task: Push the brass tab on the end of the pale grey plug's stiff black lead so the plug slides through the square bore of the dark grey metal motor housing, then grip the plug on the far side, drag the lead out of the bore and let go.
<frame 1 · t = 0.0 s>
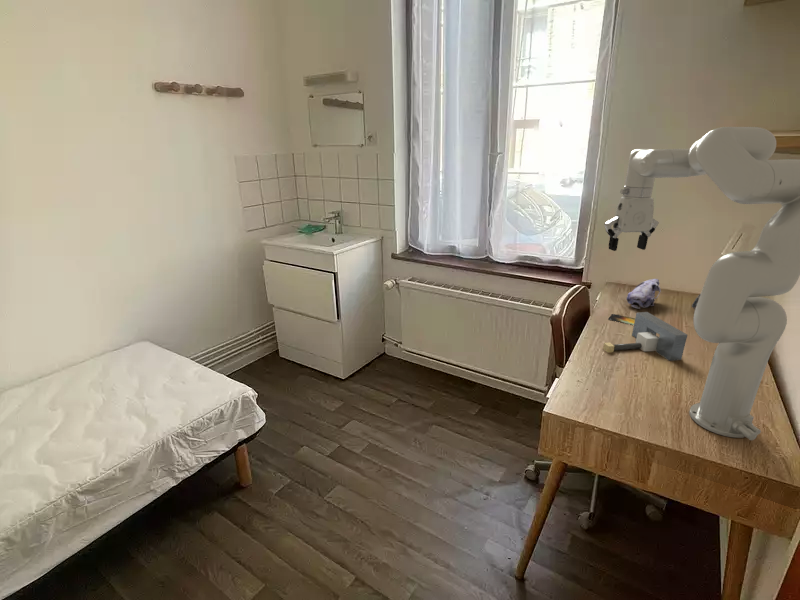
hand: (626, 249, 136), 31 cm above the table, tool pointing down, fingers open, 9 cm apart
stone: (707, 312, 170), on the table
smartphone: (631, 323, 161), on the table
housing: (655, 347, 142), on the table
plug: (645, 347, 141), on the table
lavender lump: (643, 306, 176), on the table
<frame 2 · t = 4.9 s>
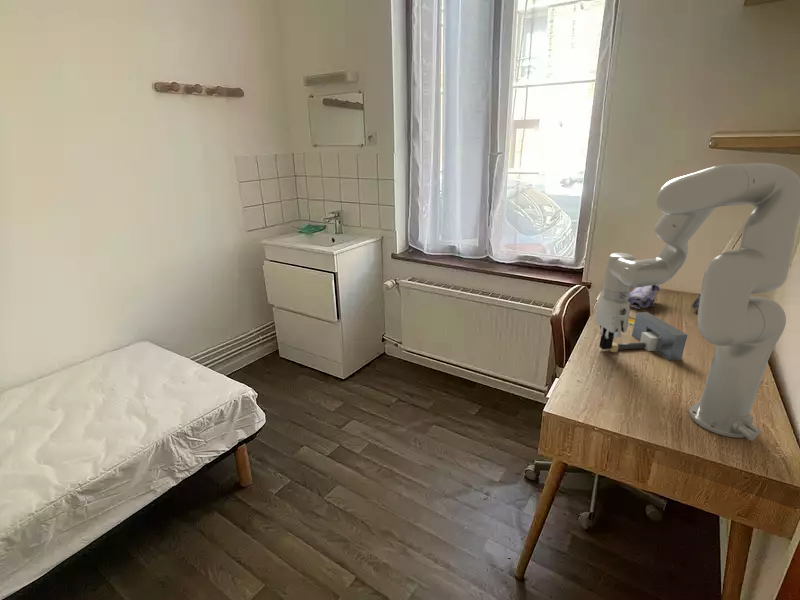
hand: (605, 347, 139), 1 cm above the table, tool pointing down, fingers closed
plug: (650, 347, 142), on the table, touching gripper
everything else where it was.
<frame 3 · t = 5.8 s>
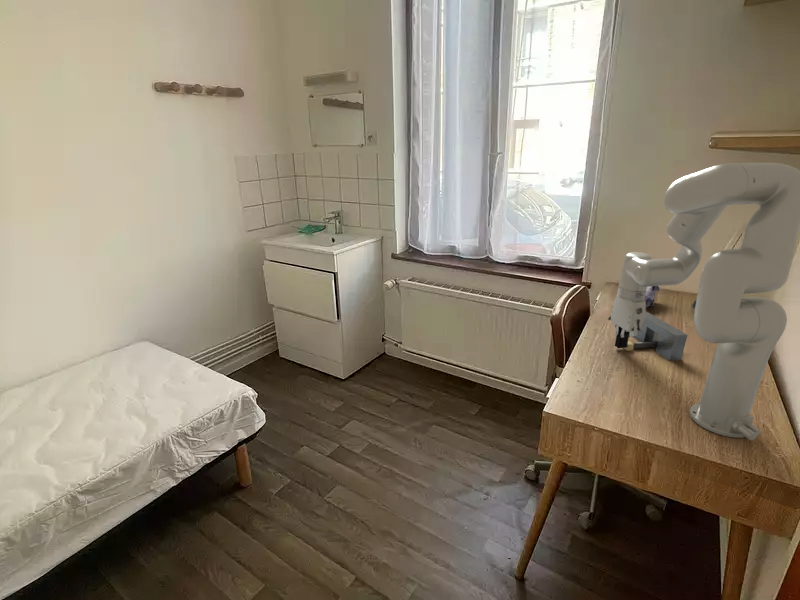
hand: (620, 346, 140), 1 cm above the table, tool pointing down, fingers closed
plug: (664, 346, 142), on the table, touching gripper
everything else where it was.
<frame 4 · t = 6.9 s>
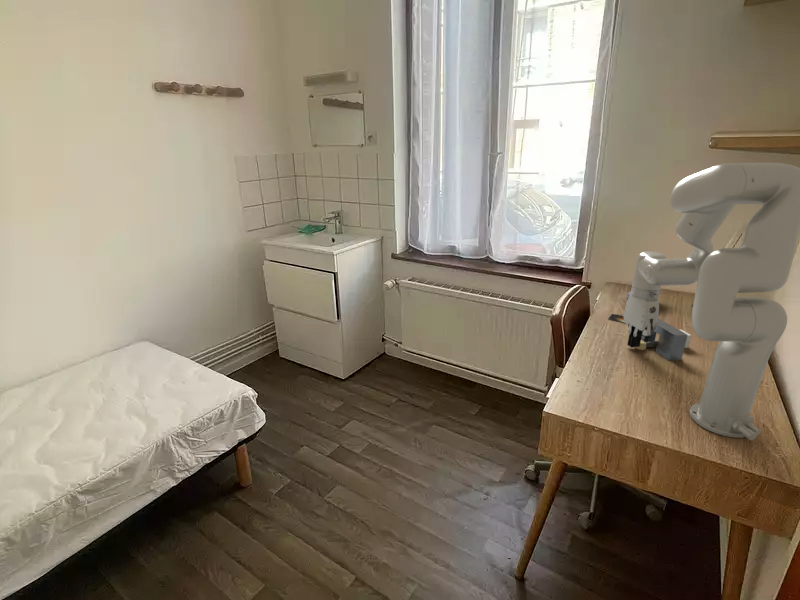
hand: (633, 345, 140), 1 cm above the table, tool pointing down, fingers closed
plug: (676, 345, 143), on the table, touching gripper
everything else where it was.
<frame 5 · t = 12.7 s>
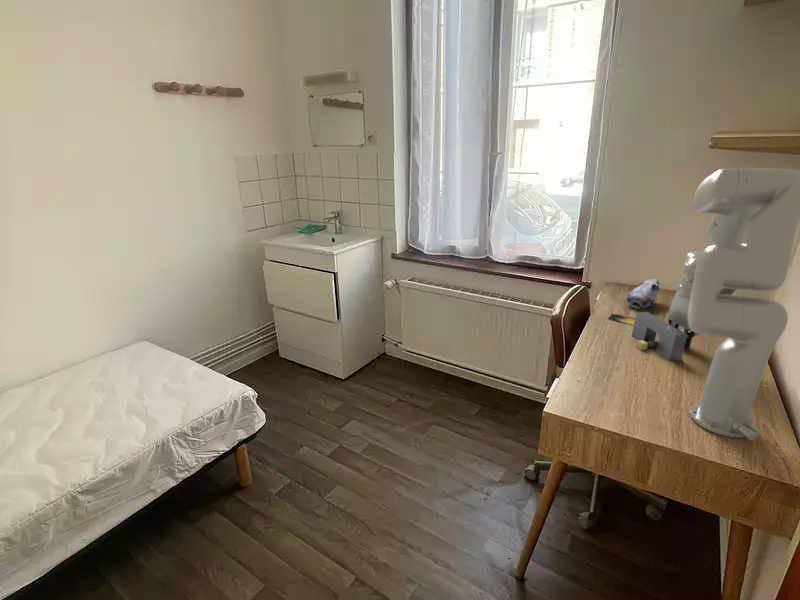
hand: (678, 343, 143), 1 cm above the table, tool pointing down, fingers closed on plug, 4 cm apart
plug: (678, 345, 143), on the table, touching gripper
everything else where it was.
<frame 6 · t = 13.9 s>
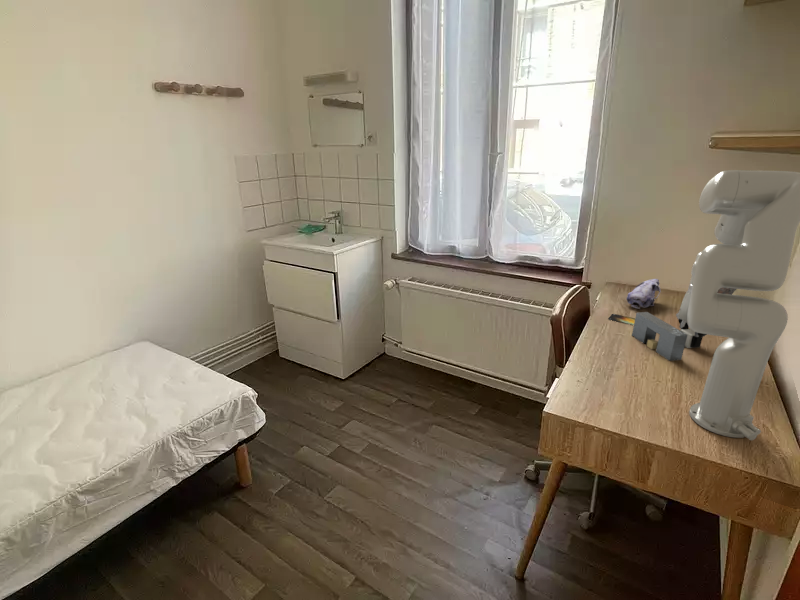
hand: (688, 342, 143), 1 cm above the table, tool pointing down, fingers closed on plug, 4 cm apart
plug: (688, 344, 143), on the table, touching gripper
everything else where it was.
when the fingers open (1 cm above the table, at t = 15.4 s): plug stays where it is, on the table.
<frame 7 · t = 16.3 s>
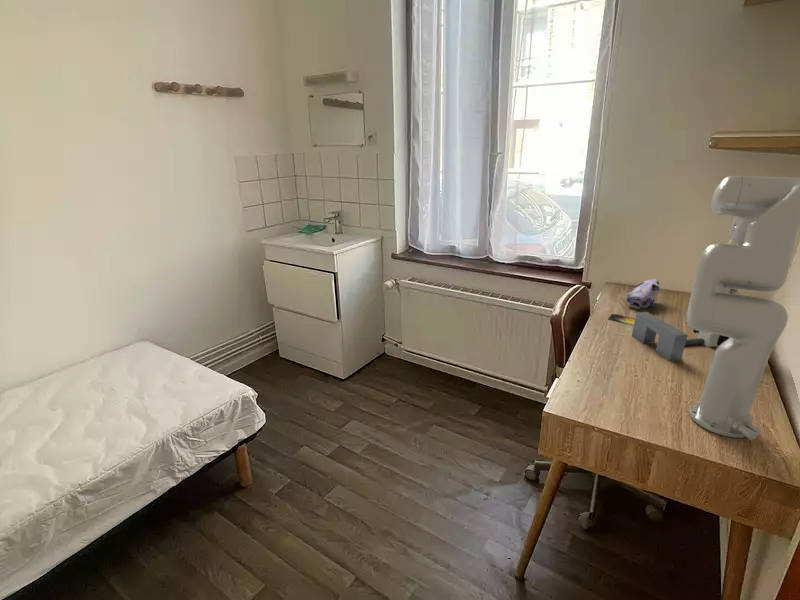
hand: (709, 338, 144), 2 cm above the table, tool pointing down, fingers open, 9 cm apart
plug: (707, 343, 144), on the table
everything else where it was.
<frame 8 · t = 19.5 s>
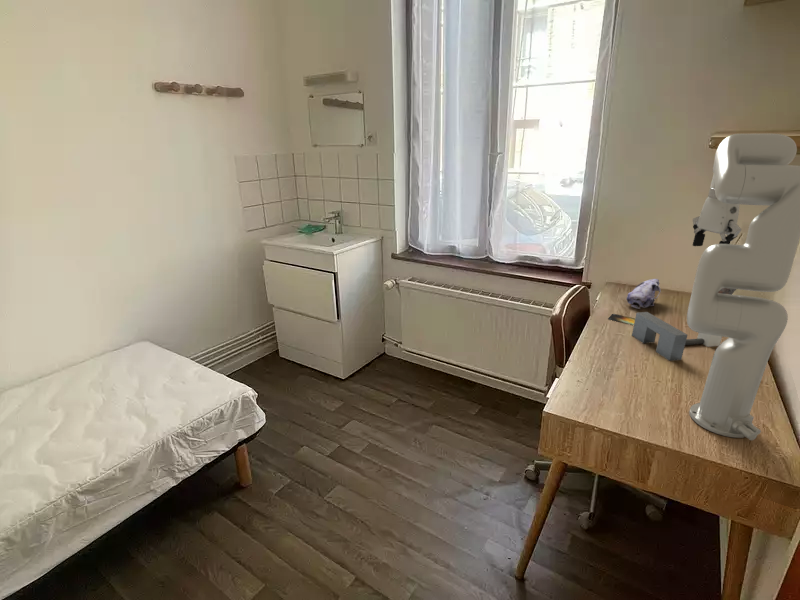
hand: (709, 249, 139), 30 cm above the table, tool pointing down, fingers open, 9 cm apart
nothing on the table moved.
at the end: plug inside the target area (1.2 cm from its centre), on the table; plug touching table; the gripper is holding nothing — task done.
